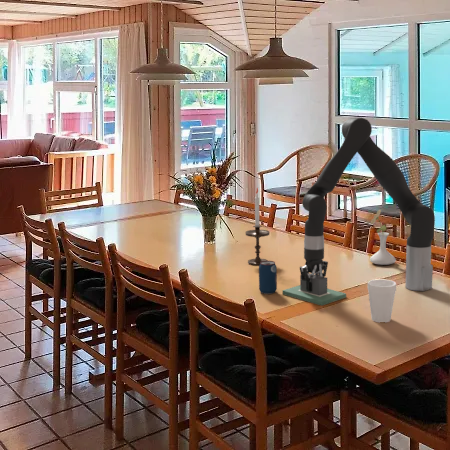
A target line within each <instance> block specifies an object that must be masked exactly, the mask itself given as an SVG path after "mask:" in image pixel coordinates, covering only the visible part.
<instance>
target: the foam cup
mask: <svg viewBox="0 0 450 450" xmlns="http://www.w3.org/2000/svg"><path fill="white" fill-rule="evenodd" d="M367 291H368V299H369V300H368V301H369V308H370V316H371V321H372V322H375V323H380V322H385V323H389V322H391V319H392V313H393V309H394V308H393V307H394V302H395V301H394V300H395V296H396V295H395V294H396V291H397V282H396V281H394V280H392V279H383V278H377V279H375V278H374V279H370V280H369V281H367Z"/></svg>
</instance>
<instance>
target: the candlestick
mask: <svg viewBox="0 0 450 450" xmlns="http://www.w3.org/2000/svg"><path fill="white" fill-rule="evenodd" d="M258 192H259V187H257V188H256V192H255V197H254V219H255V221H254V223H255V224H254V225H253V226H252V227H253V228H254V229H250V230H247V231H245V236H246V237H250V238H255V242H256V243H255V244H256V245H255V246H254V249H255V251H254V253H255V255H256V257H255V258H251V259H248V260H247V263H248V265H250V264H251V265H250V266H259V265H260V262H262V261H269V260H268V259H266V258H261V257H260V253H261V251H260V250H261V248H262V246H261V245H260V238H263V237H268V236H270V231H269V230H266V229H261V228H262V226H261V225H260V196H259V195H258Z"/></svg>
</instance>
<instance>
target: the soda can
mask: <svg viewBox="0 0 450 450" xmlns="http://www.w3.org/2000/svg"><path fill="white" fill-rule="evenodd" d="M277 267H278V266H277V265H276V261H273V260H268V261H262V262H260V265H258V290H259V291H260V293H261V294H263V293H264V295H273V294H276V292H277V290H278V289H277V288H278V286H277V285H278V279H277Z"/></svg>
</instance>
